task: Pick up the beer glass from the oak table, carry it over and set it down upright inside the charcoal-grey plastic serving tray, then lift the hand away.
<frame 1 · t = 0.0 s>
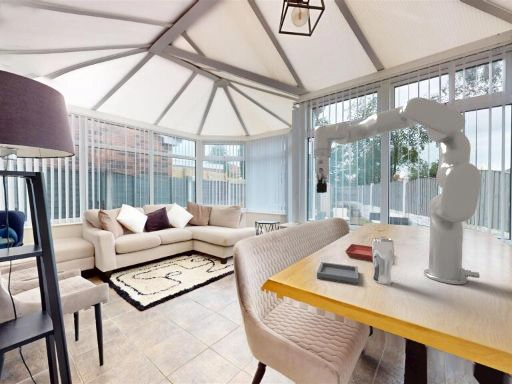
hand: (321, 192, 103), 31 cm above the table, tool pointing down, fingers open, 9 cm apart
plant saucer: (367, 257, 113), on the table
beer glass: (382, 281, 83), on the table
serving tray: (337, 275, 88), on the table
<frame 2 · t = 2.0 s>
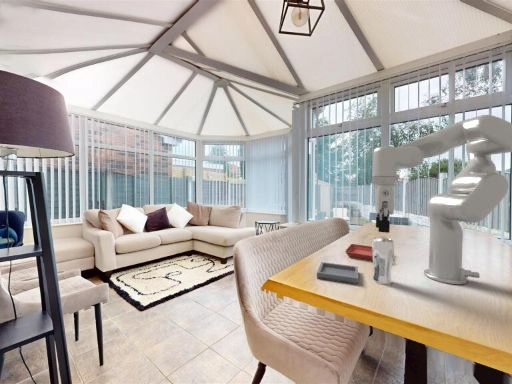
hand: (382, 229, 82), 19 cm above the table, tool pointing down, fingers open, 9 cm apart
nothing on the table moved.
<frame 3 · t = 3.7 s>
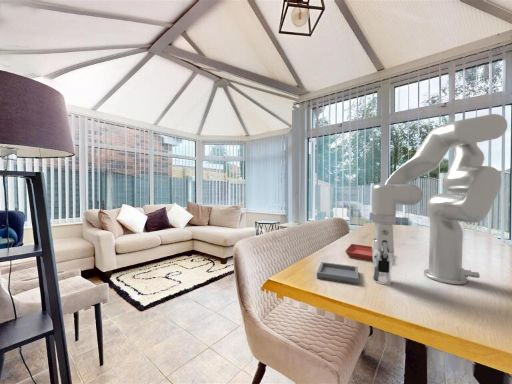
hand: (382, 268, 83), 5 cm above the table, tool pointing down, fingers closed on beer glass, 6 cm apart
beer glass: (382, 281, 83), on the table, touching gripper
everything else where it was.
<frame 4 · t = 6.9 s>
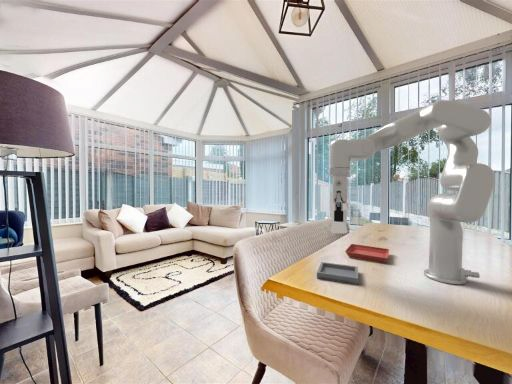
hand: (339, 219, 87), 21 cm above the table, tool pointing down, fingers closed on beer glass, 6 cm apart
beer glass: (338, 232, 88), point 16 cm above the table, touching gripper
everything else where it was.
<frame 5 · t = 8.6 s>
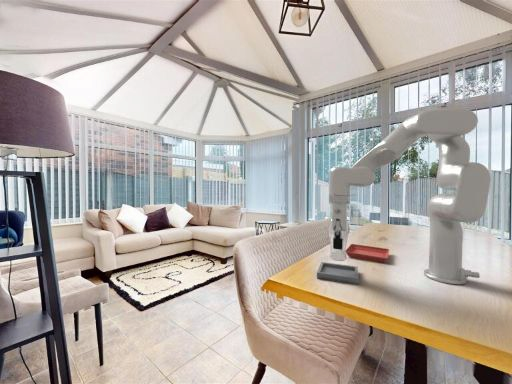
hand: (338, 246, 88), 11 cm above the table, tool pointing down, fingers closed on beer glass, 6 cm apart
beer glass: (337, 258, 88), point 6 cm above the table, touching gripper
everything else where it was.
when the fingers open (7 cm above the table, at t = 10.0 s): beer glass drops 1 cm, resting on serving tray.
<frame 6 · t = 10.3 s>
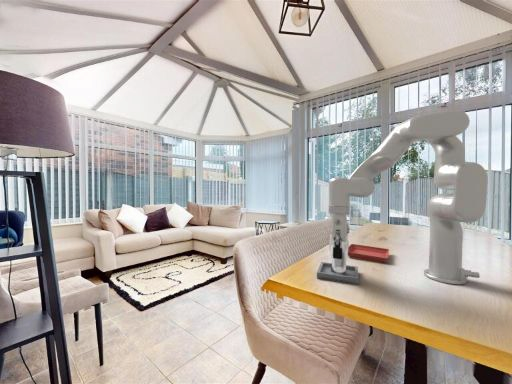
hand: (338, 254, 88), 8 cm above the table, tool pointing down, fingers open, 9 cm apart
beer glass: (338, 273, 88), point 1 cm above the table, touching serving tray
everything else where it was.
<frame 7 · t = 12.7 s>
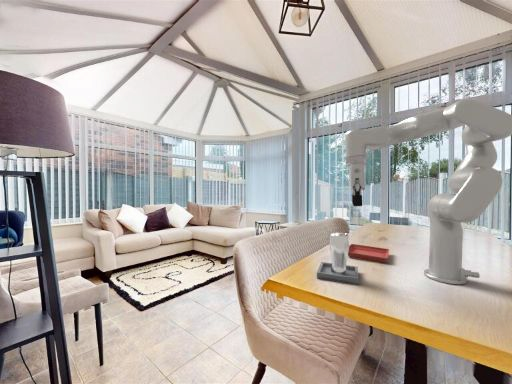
hand: (357, 205, 91), 27 cm above the table, tool pointing down, fingers open, 9 cm apart
nothing on the table moved.
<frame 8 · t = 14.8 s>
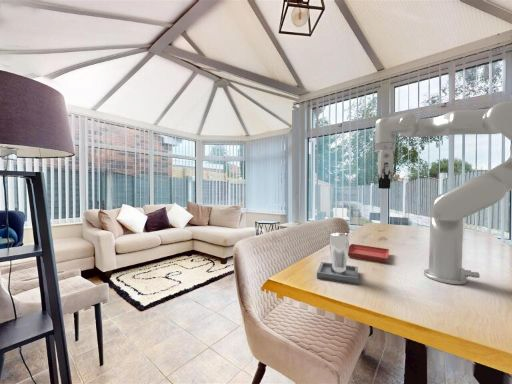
hand: (384, 188, 98), 33 cm above the table, tool pointing down, fingers open, 9 cm apart
nothing on the table moved.
at the end: beer glass inside the target area on the serving tray (0.3 cm from its centre), point 0.6 cm above the serving tray's base; beer glass tilted 0°; the gripper is holding nothing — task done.
